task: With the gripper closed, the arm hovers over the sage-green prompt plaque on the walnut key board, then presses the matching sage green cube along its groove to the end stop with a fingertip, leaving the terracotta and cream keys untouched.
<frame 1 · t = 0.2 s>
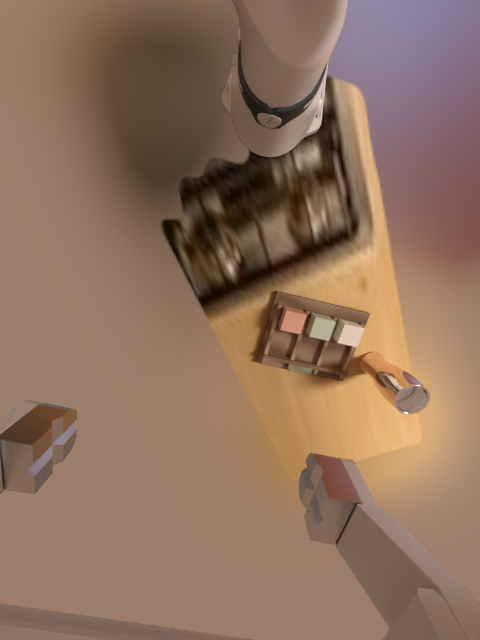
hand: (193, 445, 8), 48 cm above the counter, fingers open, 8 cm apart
key cream: (347, 332, 54), point 3 cm above the counter, slide at 0.0 cm
key terracotta: (291, 319, 53), point 3 cm above the counter, slide at 0.0 cm
key board: (310, 337, 58), on the counter
beer glass: (371, 362, 60), on the counter
sage green cube: (319, 326, 54), point 3 cm above the counter, slide at 0.0 cm
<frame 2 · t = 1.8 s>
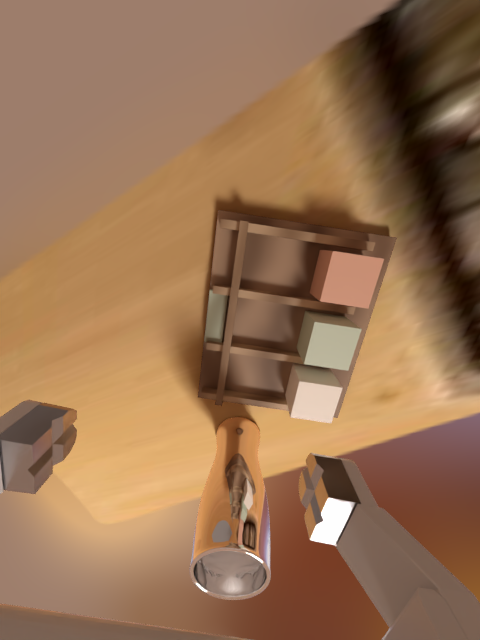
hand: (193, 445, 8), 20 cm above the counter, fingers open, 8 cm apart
key cream: (311, 391, 27), point 3 cm above the counter, slide at 0.0 cm
key terracotta: (342, 277, 23), point 3 cm above the counter, slide at 0.0 cm
key board: (283, 323, 28), on the counter
beer glass: (238, 433, 34), on the counter
sage green cube: (325, 339, 25), point 3 cm above the counter, slide at 0.0 cm
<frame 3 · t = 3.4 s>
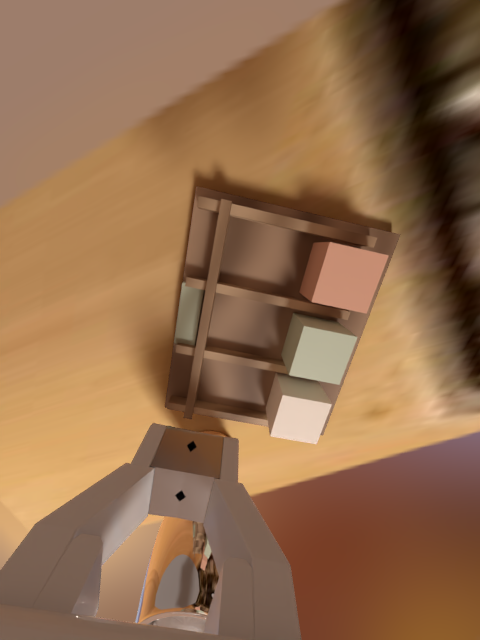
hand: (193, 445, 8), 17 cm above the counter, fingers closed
key cream: (295, 406, 24), point 3 cm above the counter, slide at 0.0 cm
key terracotta: (338, 276, 20), point 3 cm above the counter, slide at 0.0 cm
key board: (268, 326, 25), on the counter
beer glass: (210, 448, 30), on the counter
sage green cube: (315, 346, 22), point 3 cm above the counter, slide at 0.0 cm
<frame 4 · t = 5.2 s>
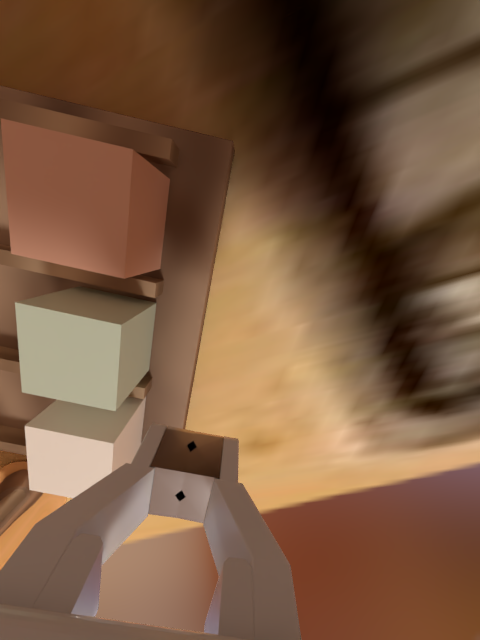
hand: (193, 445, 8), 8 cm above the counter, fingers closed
key cream: (92, 438, 15), point 3 cm above the counter, slide at 0.0 cm
key terracotta: (100, 212, 11), point 3 cm above the counter, slide at 0.0 cm
key board: (66, 310, 16), on the counter
beer glass: (35, 485, 21), on the counter
sage green cube: (96, 343, 13), point 3 cm above the counter, slide at 0.0 cm
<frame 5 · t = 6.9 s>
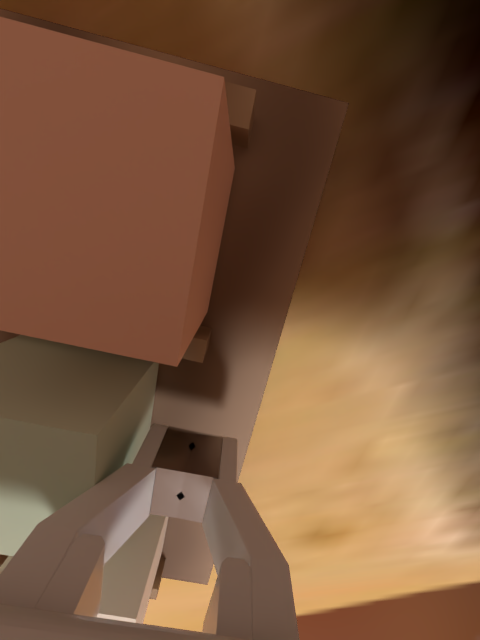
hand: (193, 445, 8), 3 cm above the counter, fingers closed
key cream: (96, 567, 10), point 3 cm above the counter, slide at 0.0 cm
key terracotta: (119, 224, 6), point 3 cm above the counter, slide at 0.0 cm
key board: (55, 364, 11), on the counter
sage green cube: (59, 430, 8), point 3 cm above the counter, slide at 1.4 cm, touching gripper
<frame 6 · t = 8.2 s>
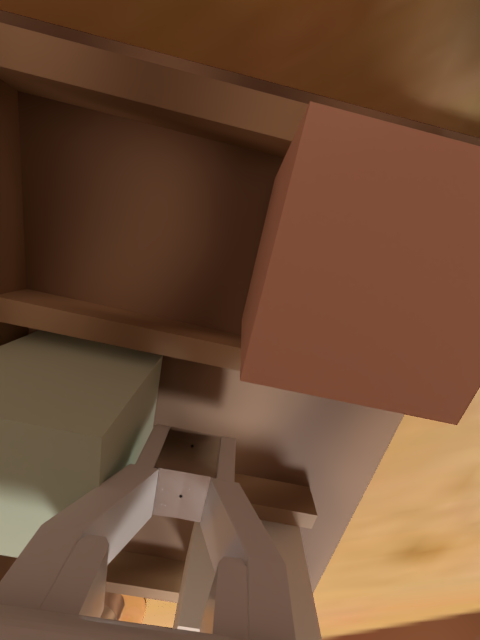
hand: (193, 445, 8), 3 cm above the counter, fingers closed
key cream: (237, 590, 10), point 3 cm above the counter, slide at 0.0 cm
key terracotta: (348, 278, 6), point 3 cm above the counter, slide at 0.0 cm
key board: (183, 390, 11), on the counter
beer glass: (102, 596, 16), on the counter
sage green cube: (62, 431, 8), point 3 cm above the counter, slide at 7.1 cm, touching gripper
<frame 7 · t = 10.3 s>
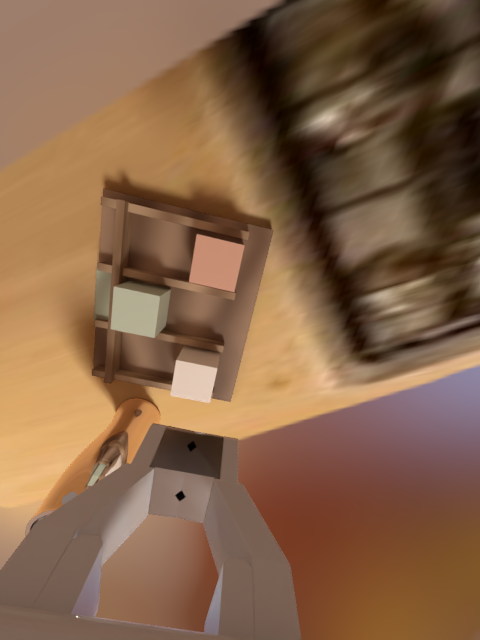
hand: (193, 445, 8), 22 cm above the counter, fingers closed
key cream: (196, 373, 28), point 3 cm above the counter, slide at 0.0 cm
key terracotta: (217, 262, 25), point 3 cm above the counter, slide at 0.0 cm
key board: (177, 306, 29), on the counter
beer glass: (139, 415, 34), on the counter
sage green cube: (142, 308, 26), point 3 cm above the counter, slide at 7.0 cm
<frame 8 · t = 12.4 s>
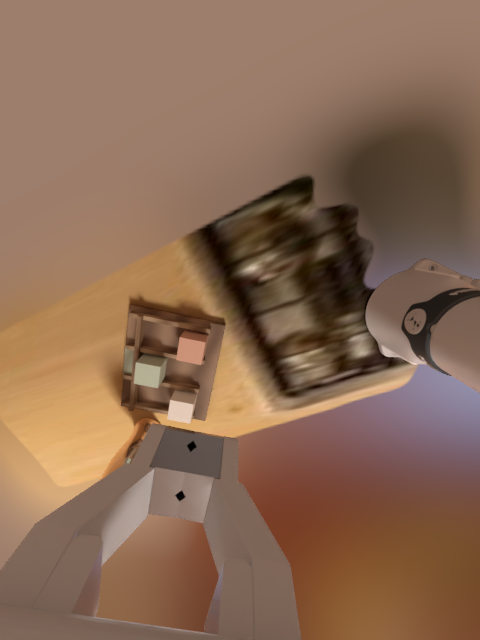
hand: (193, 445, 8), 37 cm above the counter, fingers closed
key cream: (182, 405, 48), point 3 cm above the counter, slide at 0.0 cm
key terracotta: (192, 346, 44), point 3 cm above the counter, slide at 0.0 cm
key board: (171, 364, 49), on the counter
beer glass: (149, 428, 54), on the counter
sage green cube: (151, 370, 46), point 3 cm above the counter, slide at 7.0 cm
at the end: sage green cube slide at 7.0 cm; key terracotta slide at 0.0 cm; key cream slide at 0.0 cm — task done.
